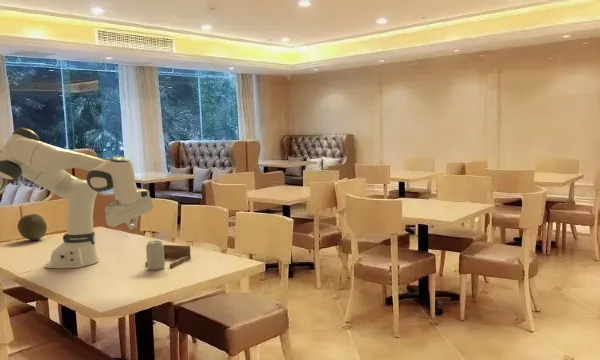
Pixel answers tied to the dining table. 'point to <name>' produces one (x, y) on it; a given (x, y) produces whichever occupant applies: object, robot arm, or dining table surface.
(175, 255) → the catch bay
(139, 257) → the dining table surface
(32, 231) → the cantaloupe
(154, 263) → the can
